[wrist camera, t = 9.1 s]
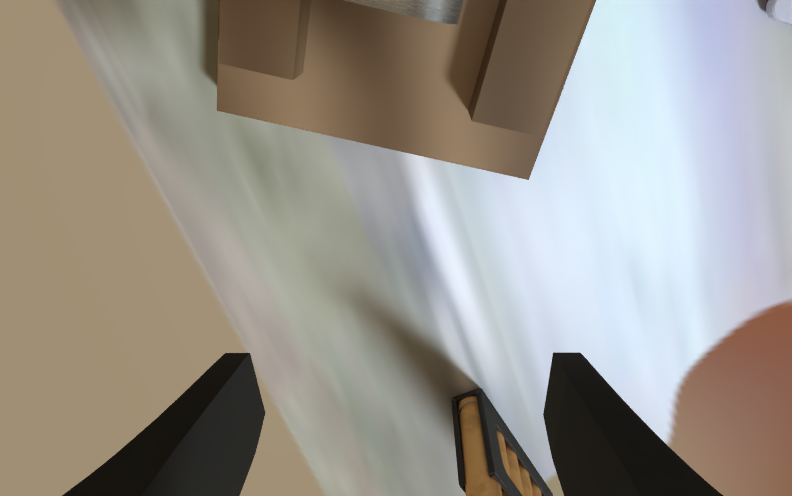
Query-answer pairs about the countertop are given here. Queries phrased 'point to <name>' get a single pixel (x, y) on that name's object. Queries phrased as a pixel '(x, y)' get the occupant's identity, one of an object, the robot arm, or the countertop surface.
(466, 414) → the ammunition clip
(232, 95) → the cradle block
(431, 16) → the steel axle
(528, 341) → the countertop surface
